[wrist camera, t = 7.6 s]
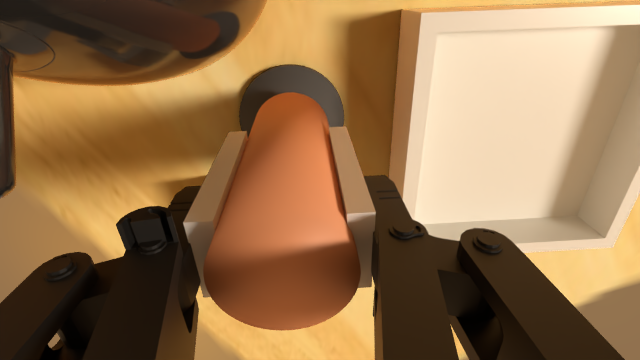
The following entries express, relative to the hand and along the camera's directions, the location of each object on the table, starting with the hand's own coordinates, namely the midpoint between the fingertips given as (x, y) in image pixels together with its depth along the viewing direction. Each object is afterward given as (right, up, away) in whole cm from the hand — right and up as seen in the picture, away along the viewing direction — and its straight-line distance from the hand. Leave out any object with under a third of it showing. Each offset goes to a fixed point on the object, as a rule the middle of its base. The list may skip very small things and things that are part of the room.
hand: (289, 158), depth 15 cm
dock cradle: (+13, +2, +6) cm, 14 cm away
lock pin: (0, +2, +3) cm, 4 cm away
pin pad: (0, +3, +5) cm, 6 cm away
